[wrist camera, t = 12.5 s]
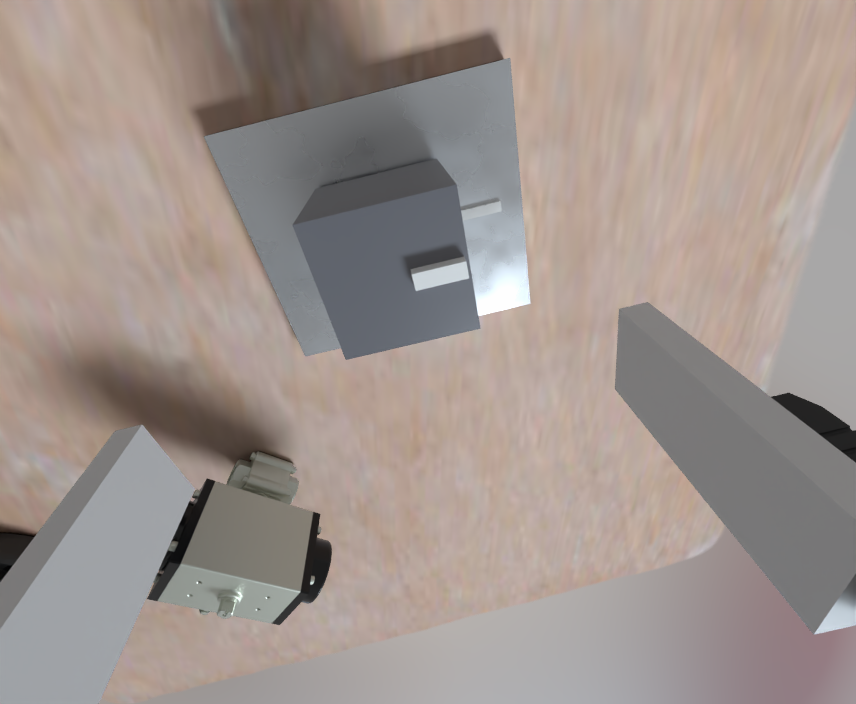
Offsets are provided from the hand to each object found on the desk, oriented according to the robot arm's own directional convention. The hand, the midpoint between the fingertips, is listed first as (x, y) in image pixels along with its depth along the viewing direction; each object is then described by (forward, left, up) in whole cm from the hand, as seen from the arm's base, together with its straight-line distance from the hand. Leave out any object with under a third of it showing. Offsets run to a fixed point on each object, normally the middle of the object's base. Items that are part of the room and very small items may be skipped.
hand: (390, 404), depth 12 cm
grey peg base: (0, 0, -17) cm, 17 cm away
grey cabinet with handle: (0, 0, -15) cm, 15 cm away
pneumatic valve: (-16, -18, -17) cm, 29 cm away
